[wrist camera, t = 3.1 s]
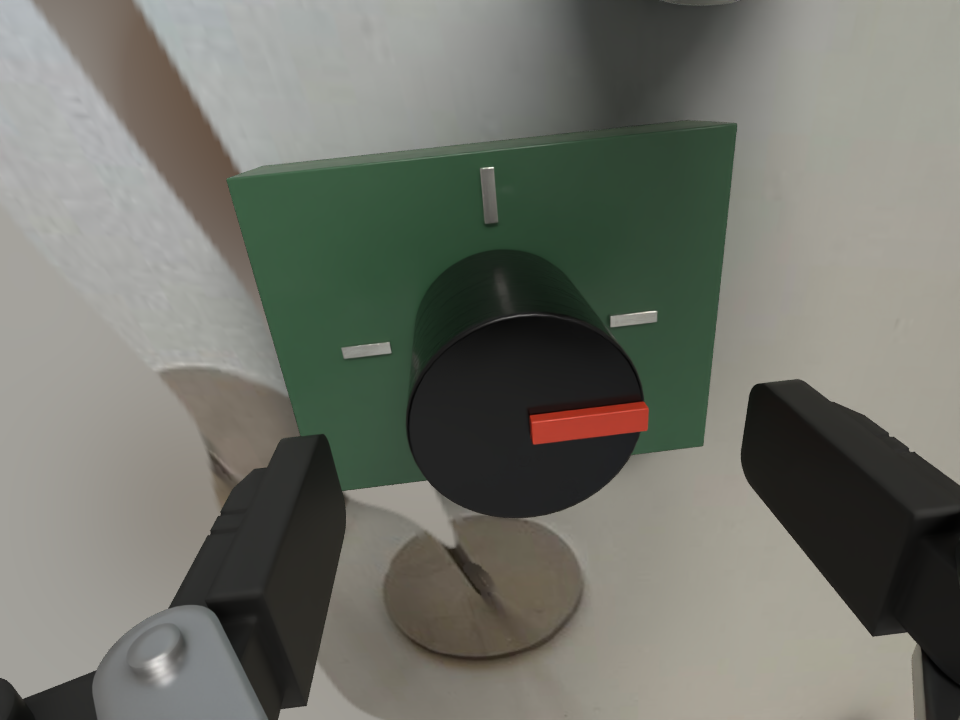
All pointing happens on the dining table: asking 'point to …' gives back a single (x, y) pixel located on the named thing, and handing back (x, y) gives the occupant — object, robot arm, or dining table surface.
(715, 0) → the metal bottle
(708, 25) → the dining table surface
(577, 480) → the cylinder
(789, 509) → the robot arm
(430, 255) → the block
